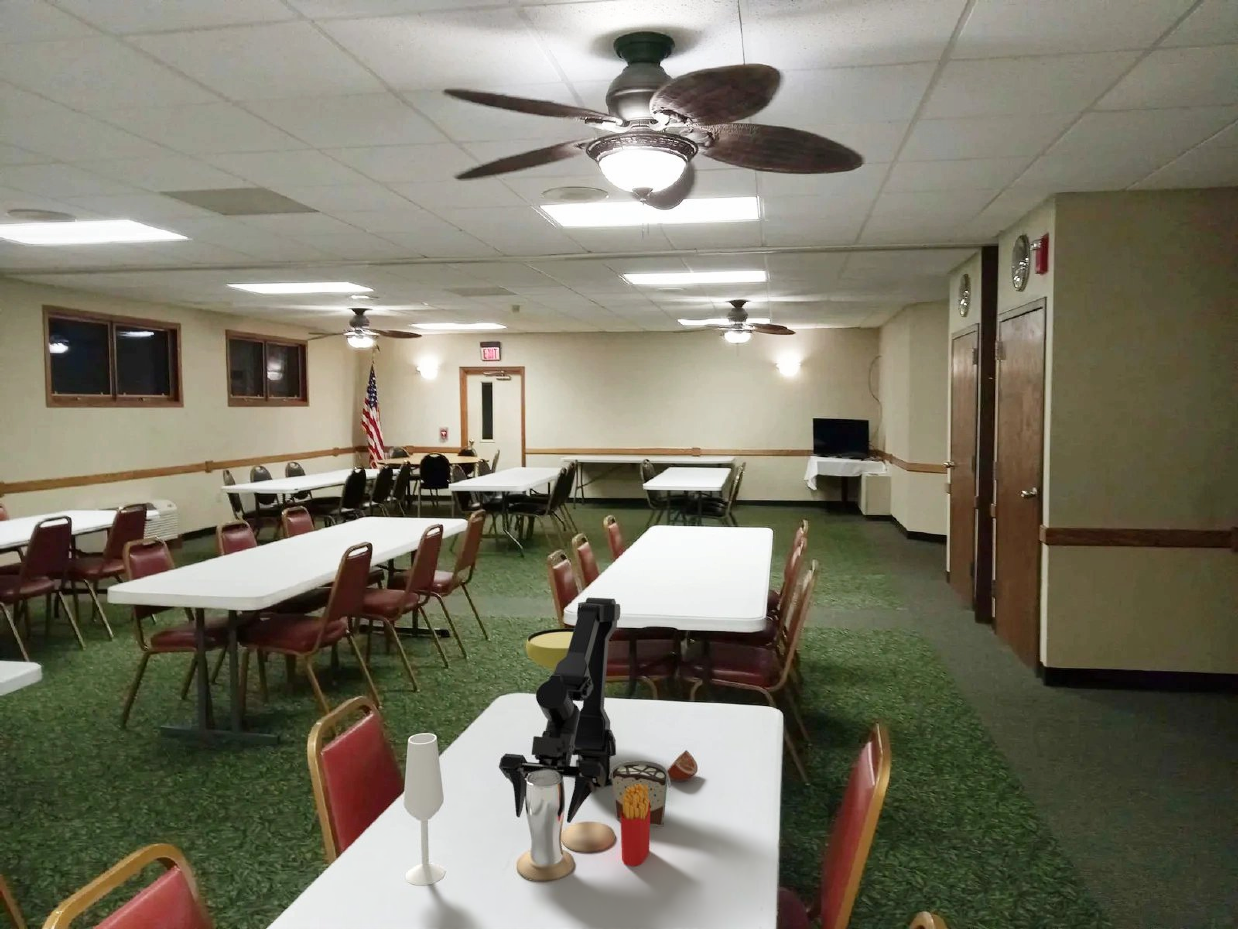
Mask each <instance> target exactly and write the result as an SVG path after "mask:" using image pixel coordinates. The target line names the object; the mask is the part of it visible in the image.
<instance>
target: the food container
mask: <svg viewBox="0 0 1238 929" xmlns="http://www.w3.org/2000/svg"><path fill="white" fill-rule="evenodd" d="M667 770H668V769H667V768H666V767H664V766H663V765H662V764H659V763H657V762H654V761H648V760H629V761H624V762H620V763H618V764H615V765H614V766H612V768H610V775H609V779H610V778H611V780H612V784H611V785H612V790H613V801H614V802H613V803H614V809H615V819H616V820H618V821H621V820H620V813H621V812H622V810H623V800H622V797H623V794H624V793H626V791H625V789H627V787H630V788H631V786H633V787H634V785H635V784H636V785H637V786H638V784H641V785H642V786H643V787H644V788H645V785H647V786H648V800H649V802H650V826H653V827H654V826H655V827H659V828H660V827H663V826H664V823H665V822H664V820H665V810H666V802H667V790H668V788H671V785H672V784H671V779H670V777H669V774H668V772H667ZM644 791H645V789H644Z"/></svg>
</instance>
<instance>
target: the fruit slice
mask: <svg viewBox="0 0 1238 929" xmlns="http://www.w3.org/2000/svg"><path fill="white" fill-rule="evenodd" d="M697 763H698V762H697V761H696V759H695V757H694V756H692V754H691V753H690V752H689V751H688V750H687V749H686V750H684V751H683V752H682V753H681V754H679V755H678V757H677V758H676V759H675V760H674V761H673V763H672V764H671V765H670V766H669V767H668V768H667V769H666V770H667V772H668V774H669V777H670V780H673V781H677V782H682V781H685V780H690V779H691V778H693V777H694V776H696V774H697V772H698V764H697Z"/></svg>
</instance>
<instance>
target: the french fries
mask: <svg viewBox="0 0 1238 929" xmlns="http://www.w3.org/2000/svg"><path fill="white" fill-rule="evenodd" d="M644 789H645V791H644ZM625 791H626V793H624V794H623V797H622V800H623V810H622V812H621V813H620V820H619V821H620V839H621V840H620V841H621V842H620V843H621V844H620V845H621V860H622V863H623V865H627V866H631V867H636V866H639V865H642V864H643V863H644V861H645V860H646V858H647V857H648V855H649V854H650V842H651V841H650V833H651V832H650V831H651V825H650V802H649V800H648V786H647V785H645V788H644V787H643V786H642V785H641V784H638V786H637V785H636V784H635V785H634V787H633V786H631V788H630V787H627V789H625Z"/></svg>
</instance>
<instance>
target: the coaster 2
mask: <svg viewBox="0 0 1238 929" xmlns="http://www.w3.org/2000/svg"><path fill="white" fill-rule="evenodd" d="M615 839H616V834H615V830H614V829H613V828H612V827H611V826H609V825H608V824H605V823H602V822H598V821H580V822H576V823H573V824H571V825H568V826H567V827H565V828H564V829H562V834H561V844H562V846H564V847H566V848H567V849H569V850H571V851H574V852H578V853H579V852H580V853H594V852H598V851H599V852H600V851H602V850H605V849H607V848H609V847H610V846H612V845H613V843H614V842H615Z"/></svg>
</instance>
